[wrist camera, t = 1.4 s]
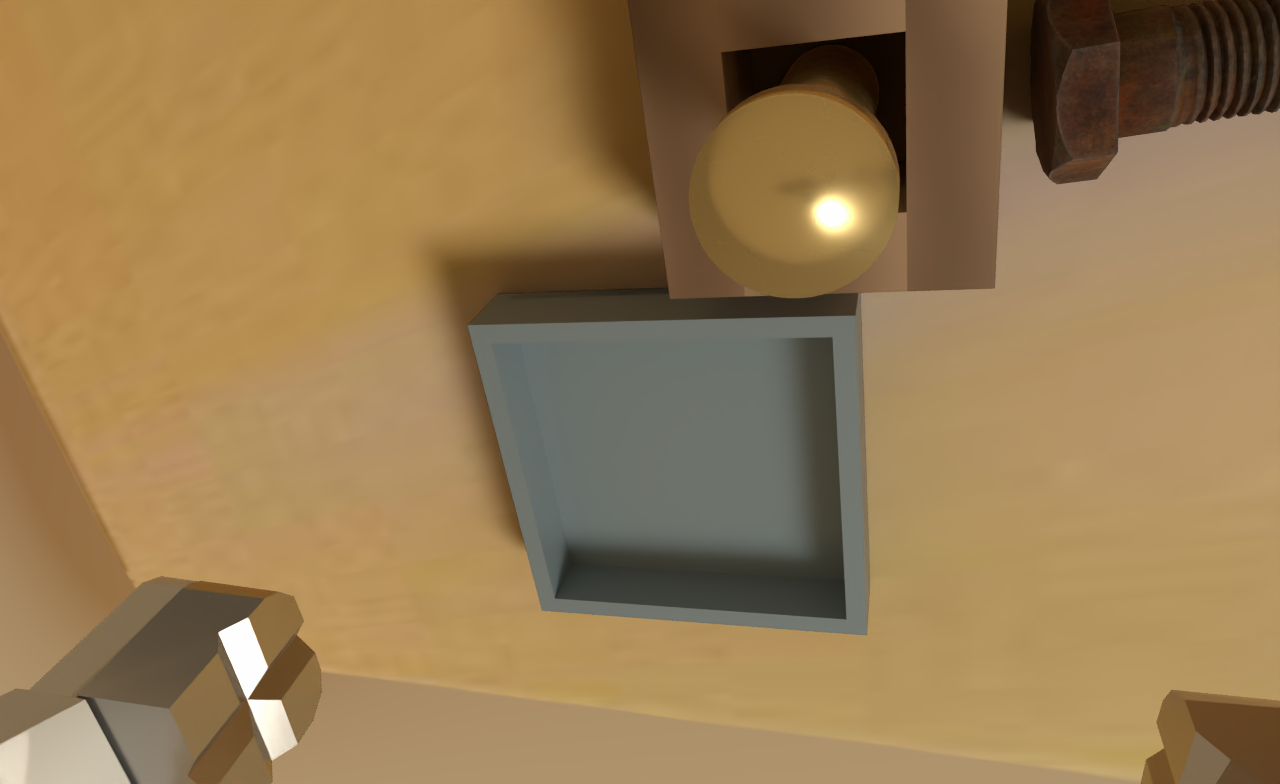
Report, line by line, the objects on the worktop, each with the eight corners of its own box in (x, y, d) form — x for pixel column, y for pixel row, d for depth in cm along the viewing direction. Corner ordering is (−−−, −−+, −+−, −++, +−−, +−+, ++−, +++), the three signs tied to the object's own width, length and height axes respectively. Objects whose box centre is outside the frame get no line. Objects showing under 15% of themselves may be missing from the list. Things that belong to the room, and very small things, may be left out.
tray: (859, 280, 33) (855, 315, 30) (870, 586, 40) (867, 635, 37) (497, 294, 37) (467, 325, 35) (563, 568, 44) (541, 610, 42)
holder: (995, -98, 26) (1011, -89, 22) (984, 230, 31) (994, 288, 27) (665, -48, 29) (623, -32, 25) (700, 244, 34) (670, 298, 30)
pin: (903, 9, 28) (897, 84, 19) (904, 161, 30) (900, 295, 21) (751, 27, 30) (676, 106, 20) (763, 171, 32) (701, 301, 23)
